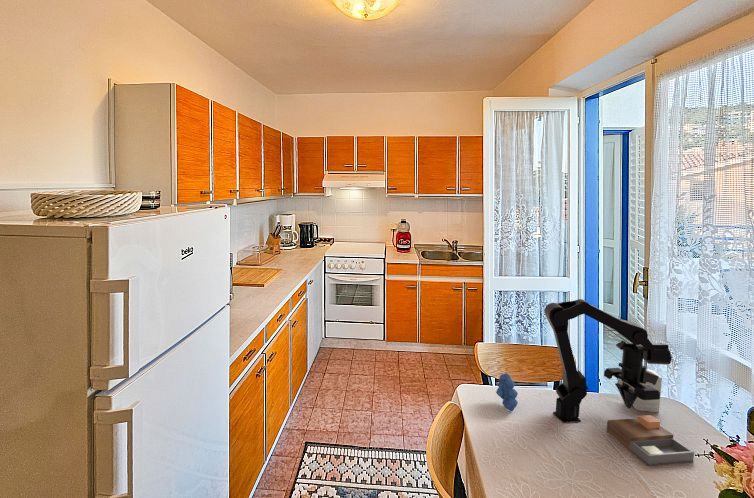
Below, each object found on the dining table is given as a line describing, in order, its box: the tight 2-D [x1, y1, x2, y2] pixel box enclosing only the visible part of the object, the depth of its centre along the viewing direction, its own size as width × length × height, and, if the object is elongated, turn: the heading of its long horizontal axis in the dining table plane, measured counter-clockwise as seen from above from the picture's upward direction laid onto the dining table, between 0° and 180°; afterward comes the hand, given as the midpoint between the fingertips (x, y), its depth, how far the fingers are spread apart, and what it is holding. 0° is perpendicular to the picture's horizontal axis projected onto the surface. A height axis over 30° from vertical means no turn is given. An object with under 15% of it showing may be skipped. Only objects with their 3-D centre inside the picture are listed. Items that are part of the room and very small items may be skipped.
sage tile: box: [641, 446, 663, 454], centre depth 120 cm, size 4×4×2 cm
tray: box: [628, 437, 695, 467], centre depth 121 cm, size 14×7×3 cm, turn 98°
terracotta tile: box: [638, 414, 661, 429], centre depth 131 cm, size 4×4×2 cm
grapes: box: [495, 372, 519, 412], centre depth 149 cm, size 12×7×12 cm, turn 9°
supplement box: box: [632, 368, 663, 413], centre depth 150 cm, size 7×7×13 cm
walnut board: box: [606, 417, 674, 451], centre depth 130 cm, size 14×10×4 cm
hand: (628, 407), depth 140 cm, fingers closed
